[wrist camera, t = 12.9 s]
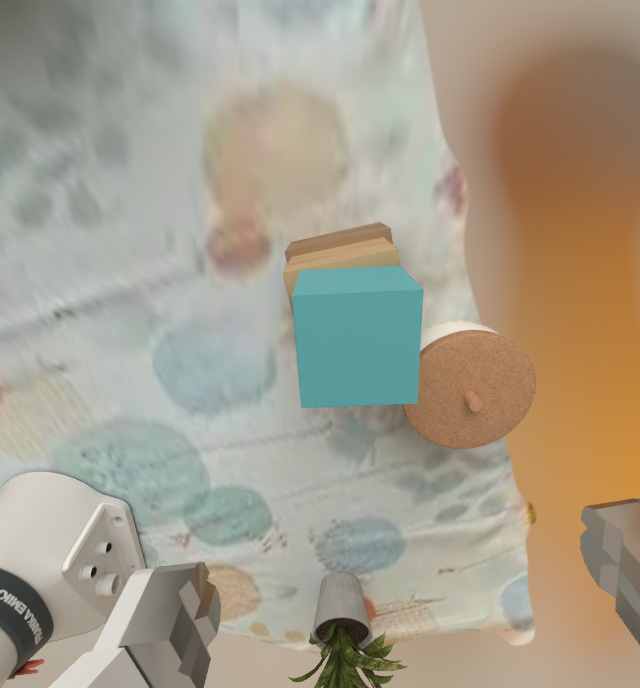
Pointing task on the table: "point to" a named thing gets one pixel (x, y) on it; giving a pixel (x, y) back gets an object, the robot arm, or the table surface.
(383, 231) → the tower bottom
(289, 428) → the table surface
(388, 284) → the teal block
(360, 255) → the block
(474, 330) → the lidded jar
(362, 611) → the house plant
